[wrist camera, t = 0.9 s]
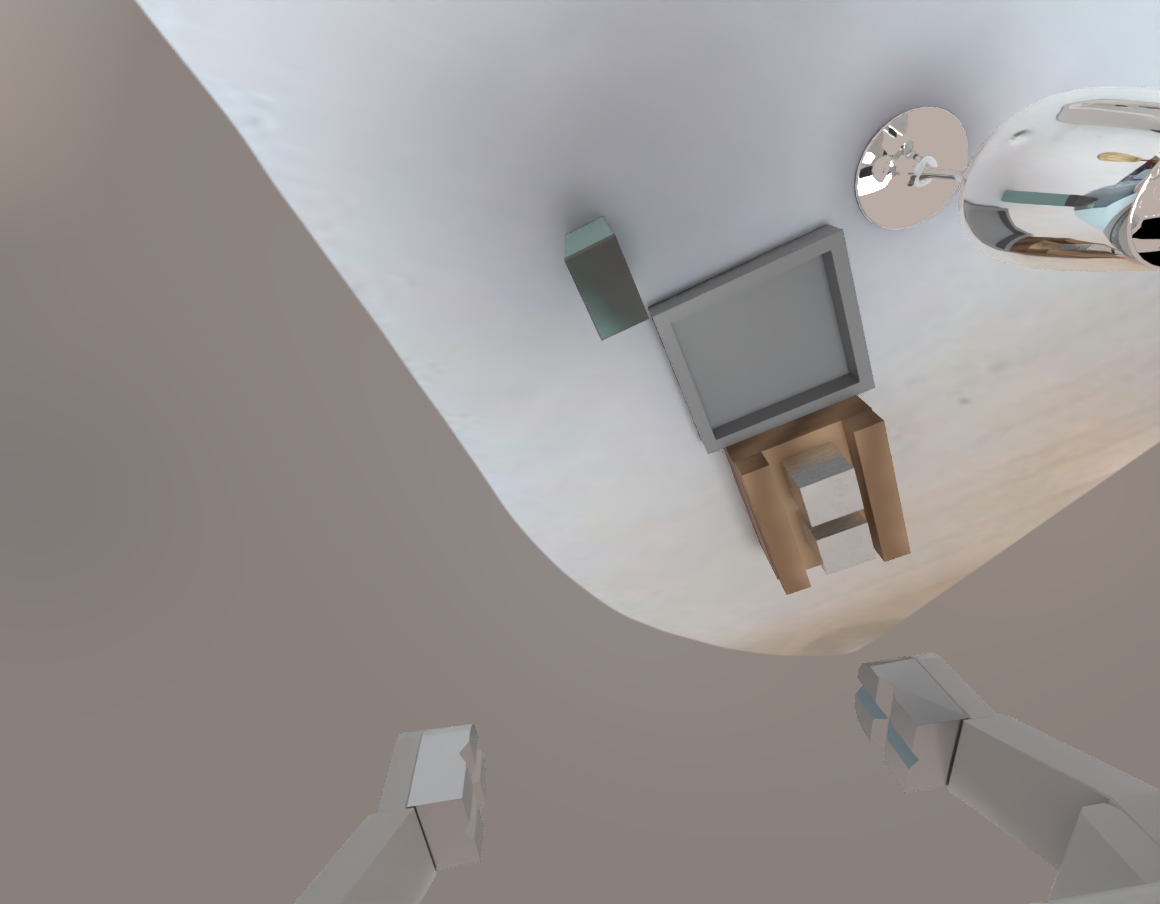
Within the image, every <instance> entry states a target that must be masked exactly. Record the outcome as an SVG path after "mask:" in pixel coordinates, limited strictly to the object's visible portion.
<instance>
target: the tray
mask: <svg viewBox="0 0 1160 904" xmlns="http://www.w3.org/2000/svg"><path fill="white" fill-rule="evenodd" d="M648 309H649V311H650V314H651V316H652V319H653V321H654V324H655V326H656V329H657V331H658V334H659V336H660V339H661V341H662V344H663V346H664V348H665V351H666V353H667V356H668V358H669V361H670V363H671V366H672V368H673V371H674V373H675V376H676V378H677V381H678V383H679V385H680V388H681V390H682V393H683V395H684V398H685V400H686V403H687V405H688V408H689V410H690V413H691V415H692V418H693V420H694V422H695V425H696V427H697V430H698V432H699V435H700V437H701V440H702V442H703V444H704V446H705V448H706V450H707V453H708V454H710V453H713V452H715V451H718V450H720V449H723V448H725V447H728V446H730V445H733V444H735V443H738V442H740V441H743V440H745V439H748V438H750V437H753V436H755V435H758V434H760V433H763V432H765V431H768V430H770V429H773V428H775V427H778V426H780V425H783V424H785V423H788V422H790V421H793V420H795V419H798V418H800V417H803V416H805V415H808V414H810V413H813V412H815V411H818V410H820V409H823V408H825V407H828V406H830V405H833V404H835V403H838V402H840V401H843V400H845V399H848V398H850V397H853V396H855V395H858V394H860V393H863V392H865V391H868V390H870V389H873V388H875V385H874V380H873V375H872V371H871V366H870V361H869V356H868V351H867V346H866V341H865V336H864V331H863V327H862V322H861V317H860V312H859V307H858V302H857V297H856V292H855V287H854V282H853V278H852V273H851V268H850V263H849V258H848V253H847V248H846V243H845V238H844V234H843V229H839V228H836V227H833V226H830V225H825V226H823V227H821V228H819V229H817V230H815V231H813V232H810V233H808V234H806V235H804V236H802V237H800V238H798V239H795V240H793V241H791V242H789V243H787V244H785V245H782V246H780V247H778V248H776V249H774V250H772V251H770V252H767V253H765V254H763V255H761V256H759V257H757V258H754V259H752V260H750V261H748V262H746V263H744V264H742V265H739V266H737V267H735V268H733V269H731V270H729V271H727V272H724V273H722V274H720V275H718V276H716V277H714V278H711V279H709V280H707V281H705V282H703V283H701V284H699V285H696V286H694V287H692V288H690V289H688V290H686V291H684V292H681V293H679V294H677V295H675V296H673V297H671V298H668V299H666V300H664V301H662V302H660V303H658V304H656V305H653V306H651V307H649V308H648Z"/></svg>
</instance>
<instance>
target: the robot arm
mask: <svg viewBox="0 0 1160 904" xmlns="http://www.w3.org/2000/svg"><path fill="white" fill-rule="evenodd" d="M858 679H859V680H860V682H861V683H862V687H861V688H860V689H859V690H858V691H857V692H856V694H855V709H856V713H857V718H858V721H859V723H860V725H861V727H862V729H863V731H864V733H865V734H866V736H867V737H868V739H869V741H870V742H872V743H873V744H875V745H877V746H878V747H880V748H882V749H883V750H884V763H885V765H886V766H887V767H888V769H889V770H890V772H891V773H892V775H893V776H894V778H895V779H896V781H897V782H898V784H899V785H900V787H901V788H902V790H903V791H904V793H906V792H914V791H922V790H929V789H937V788H945V787H948V790H949V791H950V792H952V793H953V794H954V795H956V796H957V797H958V798H960V799H961V800H963V801H964V802H965V803H967V804H968V805H969V806H971V807H972V808H973V809H975V810H976V811H977V812H979V813H980V814H982V815H983V816H984V817H986V818H987V819H988V820H990V821H991V822H992V823H994V824H995V825H997V826H998V827H999V828H1001V829H1002V830H1003V831H1005V832H1006V833H1008V834H1009V835H1010V836H1011V837H1013V838H1014V839H1016V840H1017V841H1018V842H1020V843H1021V844H1023V845H1024V846H1025V847H1027V848H1028V849H1029V850H1031V851H1032V852H1033V853H1035V854H1036V855H1037V856H1039V857H1040V858H1042V859H1043V860H1044V861H1046V862H1047V863H1048V864H1050V865H1051V866H1052V867H1054V868H1055V869H1057V870H1058V872H1057V875H1056V877H1055V880H1054V883H1053V886H1052V888H1051V891H1050V896H1049V901H1044V902H1037V903H1032V904H1160V790H1159V789H1157V788H1155V787H1153V786H1151V785H1149V784H1147V783H1145V782H1142V781H1140V780H1139V779H1136V778H1134V777H1132V776H1130V775H1128V774H1126V773H1124V772H1122V771H1120V770H1118V769H1116V768H1114V767H1112V766H1110V765H1108V764H1105V763H1104V762H1102V761H1100V760H1098V759H1096V758H1093V757H1091V756H1089V755H1087V754H1085V753H1083V752H1081V751H1079V750H1077V749H1075V748H1073V747H1071V746H1069V745H1067V744H1065V743H1063V742H1061V741H1059V740H1057V739H1054V738H1053V737H1050V736H1049V735H1046V734H1044V733H1042V732H1040V731H1038V730H1036V729H1034V728H1032V727H1030V726H1028V725H1026V724H1024V723H1022V722H1020V721H1018V720H1016V719H1014V718H1012V717H1010V716H1008V715H1006V714H1000V715H997V714H996V713H995V712H994V711H993V710H992V709H991V708H990V707H989V706H988V705H987V704H986V703H985V702H984V701H983V700H982V699H981V698H980V697H979V696H978V695H977V694H976V693H975V692H974V691H973V690H972V689H971V688H970V687H969V686H968V685H967V684H966V683H965V682H964V680H962V679H961V677H960V676H959V675H958V674H957V673H956V672H955V671H954V670H953V669H952V668H951V667H950V666H949V665H948V664H947V663H946V662H945V661H944V660H943V659H942V658H941V657H940V656H939V655H937V654H935V653H933V652H932V653H925V654H919V655H913V656H908V657H906V656H905V657H898V658H892V659H887V660H880V661H875V662H869V663H863V664H862V665H861V666H860V667H859V670H858ZM477 745H478V733H477V730H476V727H475V725H474V724H470V725H461V726H454V727H445V728H438V729H430V730H424V731H416V732H409V733H401V734H400V735H399V737H398V738H397V740H396V742H395V746H394V749H393V753H392V757H391V761H390V765H389V769H388V772H387V776H386V780H385V784H384V787H383V791H382V795H381V798H380V802H379V806H378V810H377V813H375V814H370V815H368V817H367V818H366V819H365V820H364V821H363V822H362V823H361V825H360V826H359V827H358V828H357V829H356V831H355V832H354V833H353V834H352V835H351V836H350V838H349V839H348V840H347V841H346V842H345V843H344V845H343V846H342V847H341V848H340V849H339V851H338V852H337V853H336V854H335V855H334V857H333V858H332V859H331V860H330V861H329V862H328V864H327V865H326V866H325V867H324V868H323V869H322V871H321V872H320V873H319V874H318V875H317V877H316V878H315V879H314V880H313V881H312V882H311V884H310V885H309V886H308V887H307V888H306V890H305V891H304V892H303V893H302V894H301V895H300V897H299V898H298V899H297V900H296V901H295V903H294V904H419V903H420V901H421V900H422V898H423V896H424V895H425V893H426V891H427V889H428V888H429V886H430V884H431V883H432V881H433V879H434V877H435V876H436V871H437V870H442V869H447V868H452V867H457V866H462V865H468V864H473V863H478V862H481V852H482V840H483V828H484V825H483V821H482V817H481V814H480V810H481V808H482V807H483V806H484V804H485V802H486V768H485V761H484V756H483V752H482V751H481V750H479V749H478V748H477Z"/></svg>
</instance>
